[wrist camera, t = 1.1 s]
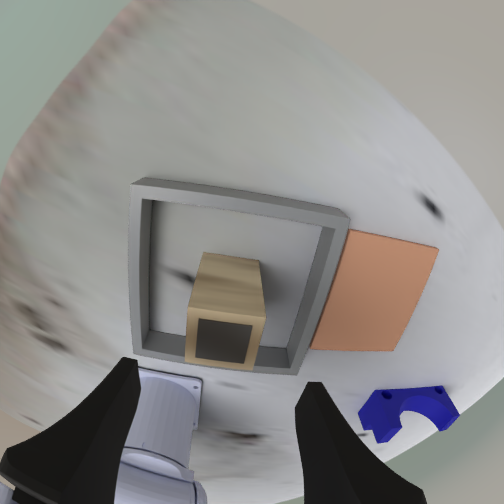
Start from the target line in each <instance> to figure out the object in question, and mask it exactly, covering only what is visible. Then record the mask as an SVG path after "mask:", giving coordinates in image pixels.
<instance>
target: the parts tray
mask: <svg viewBox="0 0 504 504" xmlns="http://www.w3.org/2000/svg"><path fill="white" fill-rule="evenodd" d="M153 200H159V201H166V202H174V203H181V204H188V205H196V206H203V207H210V208H216V209H223V210H230V211H236V212H242V213H249V214H255V215H261V216H267V217H273V218H279V219H285V220H291V221H296V222H302V223H308V224H313V225H319V226H323V227H322V231H321V235H320V239H319V242H318V246H317V250H316V253H315V257H314V261H313V264H312V268H311V271H310V275H309V278H308V282H307V285H306V288H305V292H304V295H303V298H302V302H301V305H300V308H299V311H298V315H297V318H296V321H295V324H294V327H293V330H292V333H291V336H290V339H289V342H288V345H287V348H286V349H285V348H273V347H262V346H259V348H258V351H257V355H256V359H255V363H254V366H253V370H242V369H232V368H224V367H216V366H208V365H201V364H195V363H188V362H185V344H186V337H185V336H179V335H173V334H168V333H162V332H157V331H151V330H149V253H150V230H151V214H152V201H153ZM349 222H350V218H349V217H348V216H346V215H345V214H344V213H343V212H342V211H340V210H339V209H338V208H333V207H328V206H323V205H318V204H313V203H308V202H303V201H298V200H292V199H287V198H282V197H276V196H270V195H265V194H259V193H253V192H247V191H241V190H234V189H228V188H221V187H214V186H207V185H200V184H193V183H185V182H177V181H169V180H161V179H152V178H142V179H140V180H138V181H136V182H134V183H132V184H131V187H130V203H129V228H128V279H129V304H130V320H131V333H132V344H133V354H136V355H141V356H145V357H150V358H155V359H161V360H166V361H171V362H177V363H183V364H189V365H196V366H203V367H210V368H217V369H226V370H234V371H244V372H254V373H266V374H281V375H297V374H298V372H299V369H300V367H301V364H302V362H303V359H304V357H305V354H306V352H307V349H308V346H309V344H310V341H311V339H312V336H313V333H314V331H315V328H316V325H317V322H318V320H319V317H320V314H321V311H322V308H323V305H324V303H325V300H326V297H327V294H328V291H329V288H330V285H331V282H332V279H333V276H334V273H335V269H336V266H337V263H338V260H339V257H340V253H341V250H342V247H343V243H344V240H345V236H346V233H347V229H348V226H349Z"/></svg>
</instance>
